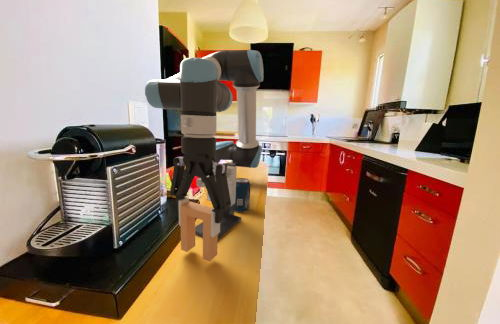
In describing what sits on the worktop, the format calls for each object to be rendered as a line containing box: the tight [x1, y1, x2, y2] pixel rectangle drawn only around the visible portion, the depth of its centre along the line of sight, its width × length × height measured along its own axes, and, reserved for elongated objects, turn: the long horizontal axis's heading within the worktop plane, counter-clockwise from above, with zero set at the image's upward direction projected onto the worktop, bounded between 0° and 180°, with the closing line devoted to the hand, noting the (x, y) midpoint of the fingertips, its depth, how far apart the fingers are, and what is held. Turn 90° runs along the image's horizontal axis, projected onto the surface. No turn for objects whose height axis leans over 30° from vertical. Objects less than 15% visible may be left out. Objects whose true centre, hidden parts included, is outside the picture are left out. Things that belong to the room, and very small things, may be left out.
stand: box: [195, 162, 242, 240], centre depth 63 cm, size 16×9×20 cm, turn 153°
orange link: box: [180, 200, 219, 263], centre depth 49 cm, size 3×9×12 cm, turn 63°
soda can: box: [234, 177, 251, 213], centre depth 78 cm, size 7×7×12 cm
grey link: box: [206, 166, 238, 206], centre depth 65 cm, size 3×9×12 cm, turn 63°
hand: (199, 228), depth 49 cm, fingers closed on orange link, 9 cm apart
